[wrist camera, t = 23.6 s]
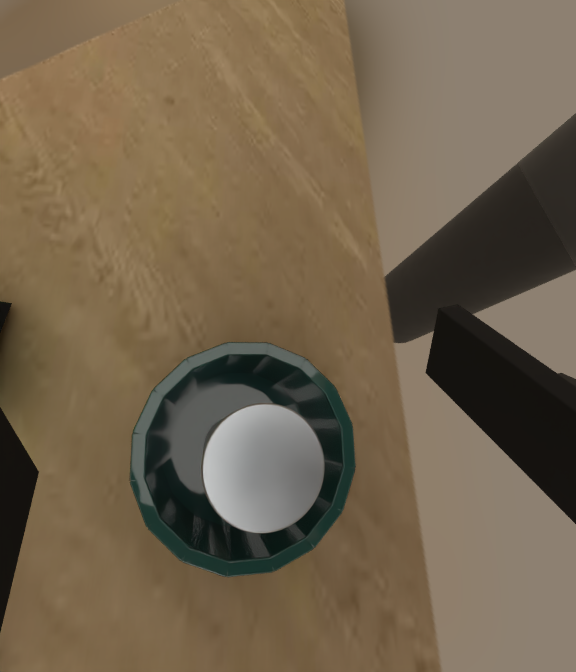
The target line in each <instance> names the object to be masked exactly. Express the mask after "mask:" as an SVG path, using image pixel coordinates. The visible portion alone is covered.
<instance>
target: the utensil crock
mask: <svg viewBox="0 0 576 672" xmlns="http://www.w3.org/2000/svg"><path fill="white" fill-rule="evenodd" d="M257 403H273V404H278V405H282V406H285V407H287V408H289V409H291V410H293V411H295V412H297V413H298V414H300V415H301V416H302V417H303V418H304V419H305V420H306V421H307V422H308V423H309V424H310V425H311V426H312V428H313V429H314V431H315V432H316V434H317V436H318V438H319V441H320V443H321V446H322V450H323V454H324V478H323V482H322V486H321V489H320V492H319V494H318V496H317V498H316V500H315V502H314V504H313V505H312V506H311V508H310V509H309V510H308V511H307V513H306V514H305V515H304V516H303V517H302V518H300V519H299V520H298V521H297V522H295V523H294V524H292V525H290V526H288V527H286V528H284V529H282V530H279V531H275V532H270V533H252V532H247V531H243V530H240V529H238V528H236V527H234V526H232V525H230V524H229V523H227V522H226V521H225V520H224V519H222V518H221V517H220V516H219V515H218V514H217V512H216V511H215V510H214V509H213V507H212V506H211V504H210V503H209V500H208V498H207V496H206V494H205V491H204V488H203V483H202V476H201V465H202V456H203V448H204V442H205V439H206V436H207V434H208V432H209V430H210V429H211V428H212V427H213V425H215V424H216V423H217V422H218V421H220V420H221V419H223V418H224V417H226V416H228V415H229V414H231V413H232V412H234V411H236V410H238V409H240V408H242V407H245V406H248V405H252V404H257ZM355 467H356V465H355V451H354V436H353V426H352V422H351V420H350V418H349V415H348V413H347V411H346V409H345V407H344V405H343V402H342V400H341V398H340V396H339V394H338V391H337V389H336V388H335V386H334V385H333V384H332V383H331V382H330V381H329V380H328V379H327V378H326V377H325V376H324V375H323V374H322V373H321V372H320V371H319V370H318V369H316V368H315V367H314V366H313V365H312V364H311V363H310V362H309V361H308V360H307V359H306V358H304V357H302V356H300V355H297V354H295V353H292V352H290V351H288V350H285V349H283V348H280V347H278V346H275V345H273V344H271V343H267V342H227V343H223V344H221V345H218V346H216V347H213V348H210V349H208V350H205V351H203V352H200V353H198V354H195V355H193V356H190V357H188V358H187V359H184V360H183V361H182V362H181V363H180V364H179V365H178V366H177V367H176V368H175V369H174V370H173V371H172V372H171V373H169V374H168V375H167V376H166V377H165V378H164V379H163V380H162V381H161V382H160V383H159V384H158V385H157V386H156V387H154V389H153V390H152V391H151V393H150V396H149V398H148V400H147V402H146V404H145V406H144V408H143V410H142V413H141V415H140V417H139V419H138V421H137V423H136V425H135V427H134V430H133V433H132V443H131V462H130V485H131V487H132V490H133V493H134V495H135V498H136V501H137V503H138V506H139V509H140V512H141V514H142V517H143V520H144V522H145V525H146V527H147V528H148V530H149V531H150V532H151V533H152V534H153V535H154V536H155V537H156V538H158V539H159V540H160V541H161V542H162V543H163V544H164V545H165V546H166V547H167V548H168V549H169V550H170V551H171V552H172V553H173V554H174V555H175V556H176V557H177V558H178V559H179V560H180V561H182V562H183V563H186V564H189V565H192V566H195V567H197V568H200V569H203V570H206V571H209V572H212V573H215V574H218V575H221V576H223V577H226V576H227V577H235V576H244V575H253V574H263V573H272V572H273V571H274V572H275V571H277V570H278V569H280V568H282V567H284V566H285V565H287V564H289V563H290V562H292V561H294V560H296V559H297V558H299V557H301V556H303V555H304V554H306V553H308V552H309V551H311V550H313V549H314V548H315V547H316V546H317V545H318V543H319V542H320V541H321V539H322V538H323V537H324V535H325V534H326V533H327V532H328V530H329V529H330V528H331V526H332V525H333V524H334V523H335V521H336V520H337V519H338V517H339V516H340V515H341V513H342V511H343V509H344V506H345V503H346V499H347V496H348V493H349V489H350V486H351V483H352V479H353V476H354V473H355Z"/></svg>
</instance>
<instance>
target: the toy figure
mask: <svg viewBox="0 0 576 672" xmlns="http://www.w3.org/2000/svg"><path fill="white" fill-rule="evenodd" d="M11 304H12V303H6V302H1V301H0V332H1V330H2V327H3V325H4V322H5V319H6V317H7V314H8V312H9V309H10V307H11Z"/></svg>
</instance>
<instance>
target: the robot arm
mask: <svg viewBox="0 0 576 672" xmlns="http://www.w3.org/2000/svg"><path fill="white" fill-rule="evenodd" d="M426 374H427V375H428V376H429V377H430V378H431V379H432V380H433V381H434V382H435V383H436V384H437V385H438V386H439V387H440V388H441V389H442V390H443V391H444V392H445V393H446V394H447V395H448V396H449V397H450V398H451V399H452V400H453V401H454V402H455V403H456V404H457V405H458V406H459V407H460V408H461V409H462V410H463V411H464V412H465V413H466V414H467V415H468V416H469V417H470V418H471V419H472V420H473V421H474V422H475V423H476V424H477V425H478V426H479V427H480V428H481V429H482V430H483V431H484V432H485V433H486V434H487V435H488V436H489V437H490V438H491V439H492V440H493V441H494V442H495V443H496V444H497V445H498V446H499V447H500V448H501V449H502V450H503V451H504V452H505V453H506V454H507V455H508V456H509V457H510V458H511V459H512V460H513V461H514V462H515V463H516V464H517V465H518V466H519V467H520V468H521V469H522V470H523V471H524V472H525V473H526V474H527V475H528V476H529V477H530V478H531V479H532V480H533V481H534V482H535V483H536V484H537V485H538V486H539V487H540V488H541V490H542V491H544V493H545V494H546V495H547V496H548V497H549V498H550V499H551V500H553V501H554V503H555V504H556V505H557V506H558V507H559V508H560V509H561V510H562V511H563V512H565V514H566V515H567V516H568V517H569V518H570V519H571V520H572V521H573V522H574V523H575V524H576V379H574V378H572V377H570V376H567V375H565V374H563V373H559V374H557V373H556V372H554V371H553V370H551V369H550V368H549V367H547V366H546V365H544V364H543V363H541V362H540V361H538V360H537V359H536V358H534V357H533V356H531V355H529V354H528V353H527V352H526V351H524V350H523V349H521V348H519V347H518V346H517V345H515V344H514V343H513V342H511V341H510V340H508V339H507V338H505V337H504V336H503V335H501V334H499V333H498V332H497V331H495V330H494V329H492V328H491V327H490V326H488V325H487V324H485V323H484V322H482V321H481V320H480V319H478V318H477V317H475V316H474V315H472V314H471V313H470V312H468V311H467V310H465V309H464V308H462V307H461V306H459V305H453V306H448V307H444V308H439V309H438V314H437V319H436V324H435V329H434V334H433V339H432V344H431V349H430V354H429V359H428V364H427V369H426ZM38 473H39V471H38V470H37V468H36V466H35V465H34V463H33V461H32V460H31V458H30V456H29V455H28V453H27V451H26V450H25V448H24V446H23V445H22V443H21V441H20V440H19V438H18V436H17V435H16V433H15V431H14V430H13V428H12V426H11V425H10V423H9V421H8V419H7V418H6V416H5V414H4V413H3V411H2V409H1V408H0V631H1V627H2V623H3V619H4V615H5V610H6V606H7V602H8V598H9V594H10V590H11V586H12V581H13V577H14V573H15V569H16V565H17V561H18V556H19V552H20V548H21V544H22V540H23V536H24V532H25V527H26V523H27V519H28V515H29V511H30V507H31V502H32V498H33V494H34V490H35V486H36V482H37V478H38Z"/></svg>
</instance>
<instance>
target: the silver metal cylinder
mask: <svg viewBox="0 0 576 672" xmlns="http://www.w3.org/2000/svg"><path fill="white" fill-rule="evenodd" d="M201 476H202V483H203V488H204V491H205V494H206V496H207V498H208V500H209V503H210V504H211V506H212V507H213V509H214V510H215V511H216V512H217V514H218V515H219V516H220V517H221V518H222V519H224V520H225V521H226V522H227V523H229V524H230V525H232V526H234V527H236V528H238V529H240V530H243V531H247V532H252V533H270V532H275V531H279V530H282V529H284V528H286V527H288V526H290V525H292V524H294V523H295V522H297V521H298V520H299V519H300V518H302V517H303V516H304V515H305V514H306V513H307V511H308V510H309V509H310V508H311V506H312V505H313V504H314V502H315V500H316V498H317V496H318V494H319V492H320V489H321V486H322V482H323V478H324V454H323V450H322V446H321V443H320V441H319V438H318V436H317V434H316V432H315V431H314V429H313V428H312V426H311V425H310V424H309V423H308V422H307V421H306V420H305V419H304V418H303V417H302V416H301V415H300V414H298V413H297V412H295V411H293V410H291V409H289V408H287V407H285V406H282V405H278V404H273V403H257V404H252V405H248V406H245V407H242V408H240V409H238V410H236V411H234V412H232V413H231V414H229V415H228V416H226V417H224V418H223V419H221V420H220V421H218V422H217V423H216V424H215V425H213V427H212V428H211V429H210V430H209V432H208V434H207V436H206V439H205V442H204V448H203V456H202V465H201Z"/></svg>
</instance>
